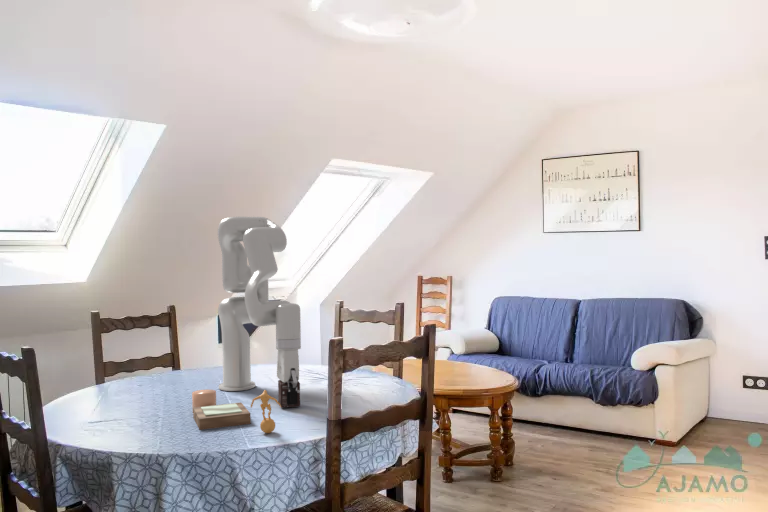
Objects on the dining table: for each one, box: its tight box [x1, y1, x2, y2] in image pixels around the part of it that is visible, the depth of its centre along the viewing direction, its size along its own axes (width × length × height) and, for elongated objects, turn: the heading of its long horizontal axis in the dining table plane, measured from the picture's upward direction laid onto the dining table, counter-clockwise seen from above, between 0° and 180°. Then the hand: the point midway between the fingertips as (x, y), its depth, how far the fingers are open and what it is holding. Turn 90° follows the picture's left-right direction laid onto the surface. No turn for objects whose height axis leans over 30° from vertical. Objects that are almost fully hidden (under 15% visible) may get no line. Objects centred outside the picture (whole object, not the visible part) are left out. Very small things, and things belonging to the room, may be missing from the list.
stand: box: [192, 401, 252, 431], centre depth 198 cm, size 14×14×3 cm
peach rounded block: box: [191, 389, 217, 411], centre depth 209 cm, size 7×7×6 cm
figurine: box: [250, 389, 281, 434], centre depth 184 cm, size 8×6×12 cm
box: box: [277, 379, 301, 409], centre depth 213 cm, size 6×6×7 cm
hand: (289, 400), depth 214 cm, fingers closed on box, 6 cm apart
